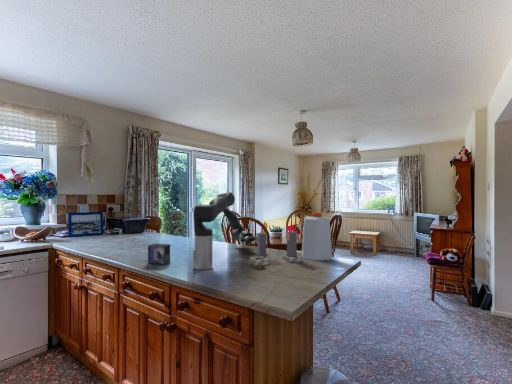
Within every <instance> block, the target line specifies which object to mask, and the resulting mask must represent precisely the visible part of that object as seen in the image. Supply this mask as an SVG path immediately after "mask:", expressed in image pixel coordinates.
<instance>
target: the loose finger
mask: <svg viewBox="0 0 512 384" xmlns="http://www.w3.org/2000/svg"><path fill="white" fill-rule="evenodd" d="M256 234H257V235H256V236H257V242H256V244H257V246H256V249H257V250H256V251H257V252H256V254H257V256H256V257H265V258H267V241H268V234H267V233H266V232H257V233H256Z"/></svg>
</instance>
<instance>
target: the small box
mask: <svg viewBox="0 0 512 384" xmlns="http://www.w3.org/2000/svg"><path fill="white" fill-rule="evenodd" d="M168 263H169V264H170V263H171V244H169V243H152V244H149V245H147V265H156V266H166V265H169V264H168Z"/></svg>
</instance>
